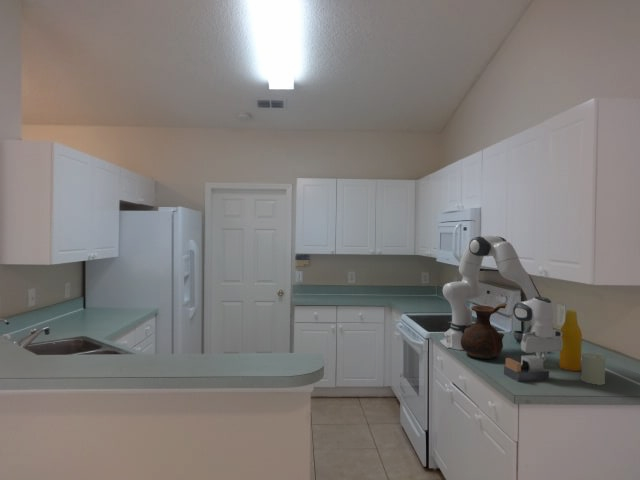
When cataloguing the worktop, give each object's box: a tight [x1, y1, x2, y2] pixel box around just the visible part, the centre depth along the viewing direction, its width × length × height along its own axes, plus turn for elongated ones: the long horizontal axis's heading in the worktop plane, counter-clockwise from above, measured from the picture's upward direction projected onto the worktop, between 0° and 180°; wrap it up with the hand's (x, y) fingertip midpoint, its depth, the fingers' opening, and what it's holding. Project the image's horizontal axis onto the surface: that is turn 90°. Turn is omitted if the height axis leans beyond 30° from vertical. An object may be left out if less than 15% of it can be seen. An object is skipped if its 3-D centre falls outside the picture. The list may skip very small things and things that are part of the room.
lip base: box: [503, 357, 550, 383], centre depth 187 cm, size 16×10×8 cm, turn 102°
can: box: [580, 352, 607, 386], centre depth 183 cm, size 9×9×12 cm
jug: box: [461, 303, 507, 360], centre depth 219 cm, size 22×22×30 cm
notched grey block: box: [520, 354, 544, 370], centre depth 188 cm, size 7×6×5 cm
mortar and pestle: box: [512, 323, 532, 345], centre depth 246 cm, size 11×9×12 cm
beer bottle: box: [558, 309, 583, 372], centre depth 200 cm, size 9×9×29 cm
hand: (541, 360), depth 189 cm, fingers closed
